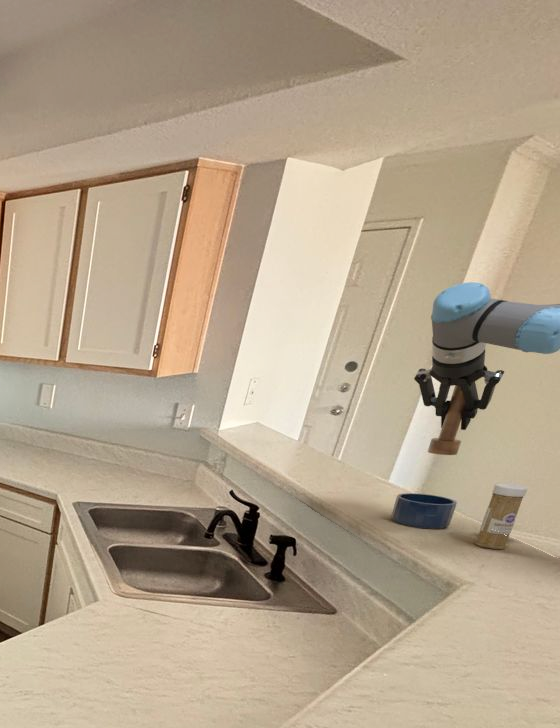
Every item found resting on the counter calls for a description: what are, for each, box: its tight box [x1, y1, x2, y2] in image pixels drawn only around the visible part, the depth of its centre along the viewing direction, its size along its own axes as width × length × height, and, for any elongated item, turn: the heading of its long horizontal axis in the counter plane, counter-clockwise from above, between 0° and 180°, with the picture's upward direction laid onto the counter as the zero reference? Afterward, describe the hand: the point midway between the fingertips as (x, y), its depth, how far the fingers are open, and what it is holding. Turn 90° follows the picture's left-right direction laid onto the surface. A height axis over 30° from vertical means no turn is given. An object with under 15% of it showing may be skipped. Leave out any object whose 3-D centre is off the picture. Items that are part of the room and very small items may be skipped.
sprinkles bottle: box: [474, 482, 528, 550], centre depth 122 cm, size 5×5×14 cm
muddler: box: [427, 385, 465, 456], centre depth 131 cm, size 5×5×18 cm
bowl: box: [390, 492, 458, 530], centre depth 139 cm, size 10×10×6 cm
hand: (455, 424), depth 134 cm, fingers closed on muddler, 3 cm apart
